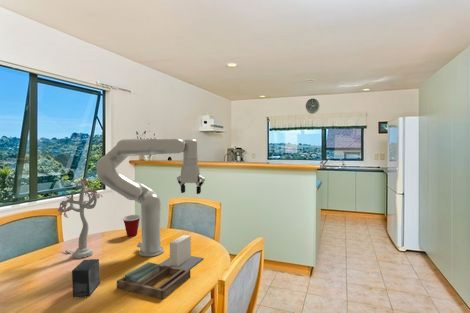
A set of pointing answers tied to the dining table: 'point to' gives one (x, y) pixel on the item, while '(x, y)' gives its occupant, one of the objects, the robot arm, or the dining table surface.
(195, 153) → the robot arm
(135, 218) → the plastic cup
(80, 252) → the tree sculpture
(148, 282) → the walnut rack
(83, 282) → the small box
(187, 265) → the rubber mat
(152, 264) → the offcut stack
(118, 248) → the dining table surface
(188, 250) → the white rectangular block
